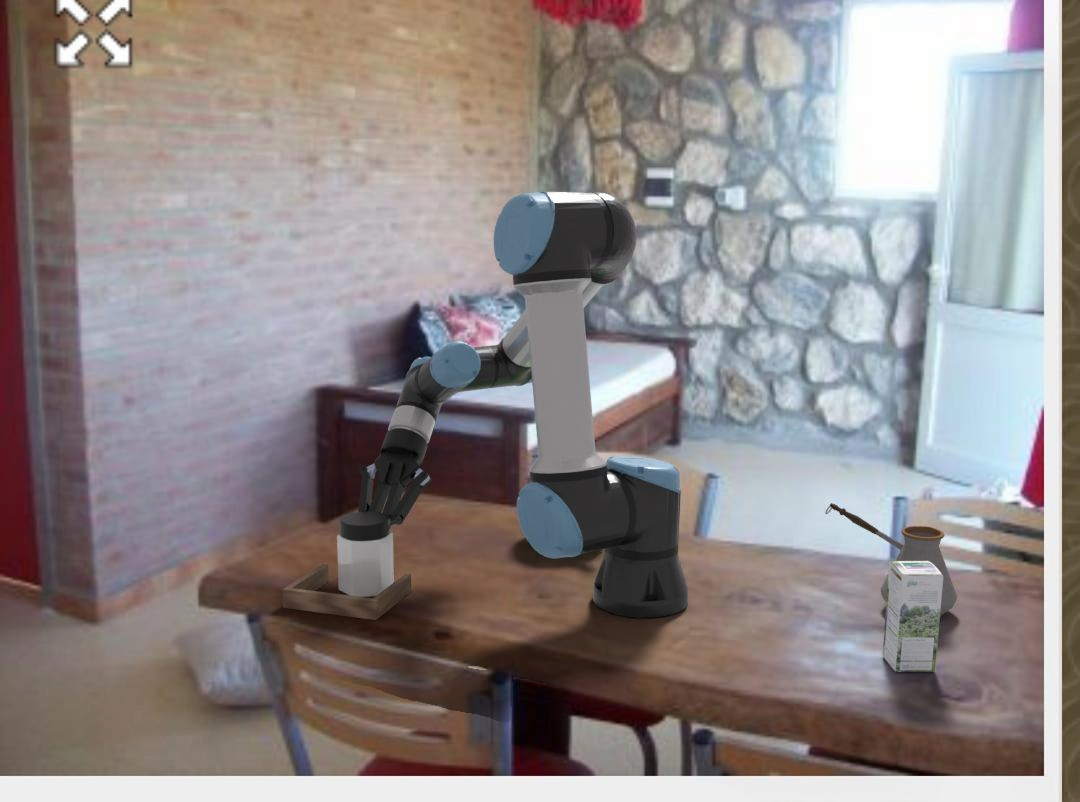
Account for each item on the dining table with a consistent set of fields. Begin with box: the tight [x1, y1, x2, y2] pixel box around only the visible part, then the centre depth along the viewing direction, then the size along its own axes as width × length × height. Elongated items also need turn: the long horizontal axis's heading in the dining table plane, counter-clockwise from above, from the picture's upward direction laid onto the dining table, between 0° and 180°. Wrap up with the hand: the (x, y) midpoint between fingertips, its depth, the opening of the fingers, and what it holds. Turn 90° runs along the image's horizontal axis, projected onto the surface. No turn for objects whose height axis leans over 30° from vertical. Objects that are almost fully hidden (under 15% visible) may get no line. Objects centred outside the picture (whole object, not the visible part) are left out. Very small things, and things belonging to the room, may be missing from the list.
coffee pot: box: [824, 502, 958, 618], centre depth 188 cm, size 21×12×15 cm, turn 55°
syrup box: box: [882, 560, 943, 673], centre depth 164 cm, size 6×6×14 cm
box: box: [282, 563, 412, 621], centre depth 189 cm, size 16×13×3 cm
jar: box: [336, 511, 395, 598], centre depth 193 cm, size 9×8×12 cm
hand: (366, 557), depth 196 cm, fingers closed
